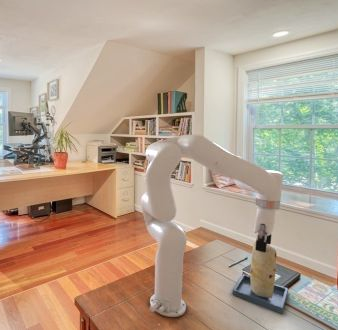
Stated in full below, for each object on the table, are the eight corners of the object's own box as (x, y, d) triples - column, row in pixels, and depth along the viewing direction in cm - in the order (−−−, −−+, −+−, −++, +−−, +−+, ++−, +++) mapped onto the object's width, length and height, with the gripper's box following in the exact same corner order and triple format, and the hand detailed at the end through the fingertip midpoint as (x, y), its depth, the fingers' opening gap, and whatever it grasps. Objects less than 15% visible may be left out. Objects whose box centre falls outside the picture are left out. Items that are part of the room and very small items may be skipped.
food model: (278, 299, 95) (283, 249, 93) (263, 302, 94) (267, 250, 92) (257, 284, 105) (260, 238, 103) (242, 286, 104) (246, 240, 101)
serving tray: (282, 314, 89) (282, 308, 89) (232, 294, 99) (232, 289, 99) (287, 293, 100) (288, 288, 100) (242, 278, 111) (243, 273, 110)
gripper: (260, 197, 104) (256, 237, 106) (250, 206, 92) (246, 251, 94) (283, 201, 99) (278, 243, 101) (276, 210, 86) (271, 258, 88)
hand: (263, 247), depth 97 cm, fingers open, 9 cm apart
